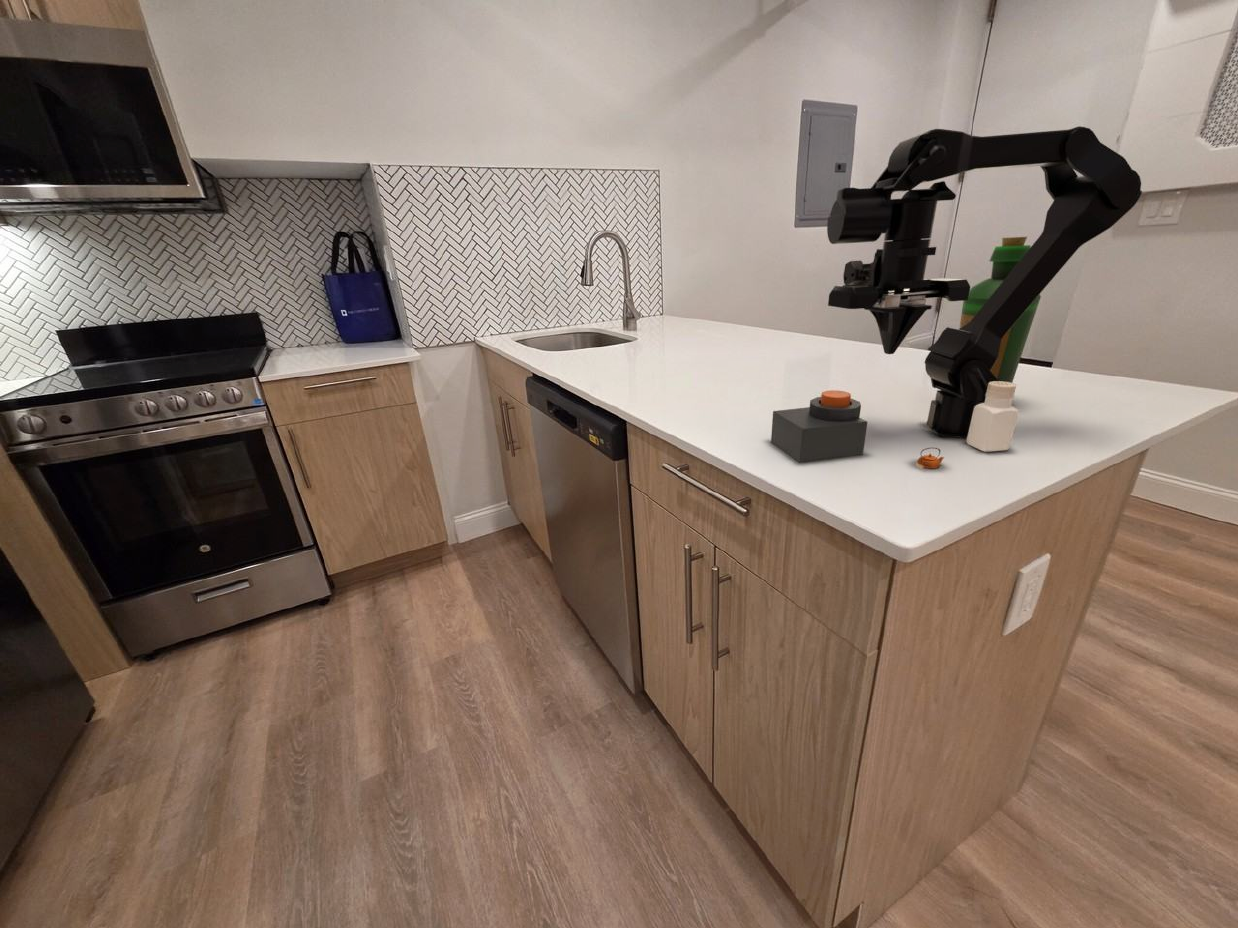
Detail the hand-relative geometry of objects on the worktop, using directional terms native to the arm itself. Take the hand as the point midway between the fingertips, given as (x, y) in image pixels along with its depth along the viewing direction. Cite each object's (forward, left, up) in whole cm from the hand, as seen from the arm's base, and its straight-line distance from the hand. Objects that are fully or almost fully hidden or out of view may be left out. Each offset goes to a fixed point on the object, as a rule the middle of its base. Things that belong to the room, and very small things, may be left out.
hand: (888, 353), depth 75 cm
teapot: (-4, +12, -13) cm, 18 cm away
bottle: (-21, -20, -13) cm, 32 cm away
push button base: (+10, +7, -13) cm, 18 cm away
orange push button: (+8, +6, -6) cm, 12 cm away
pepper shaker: (-14, +4, -13) cm, 20 cm away
